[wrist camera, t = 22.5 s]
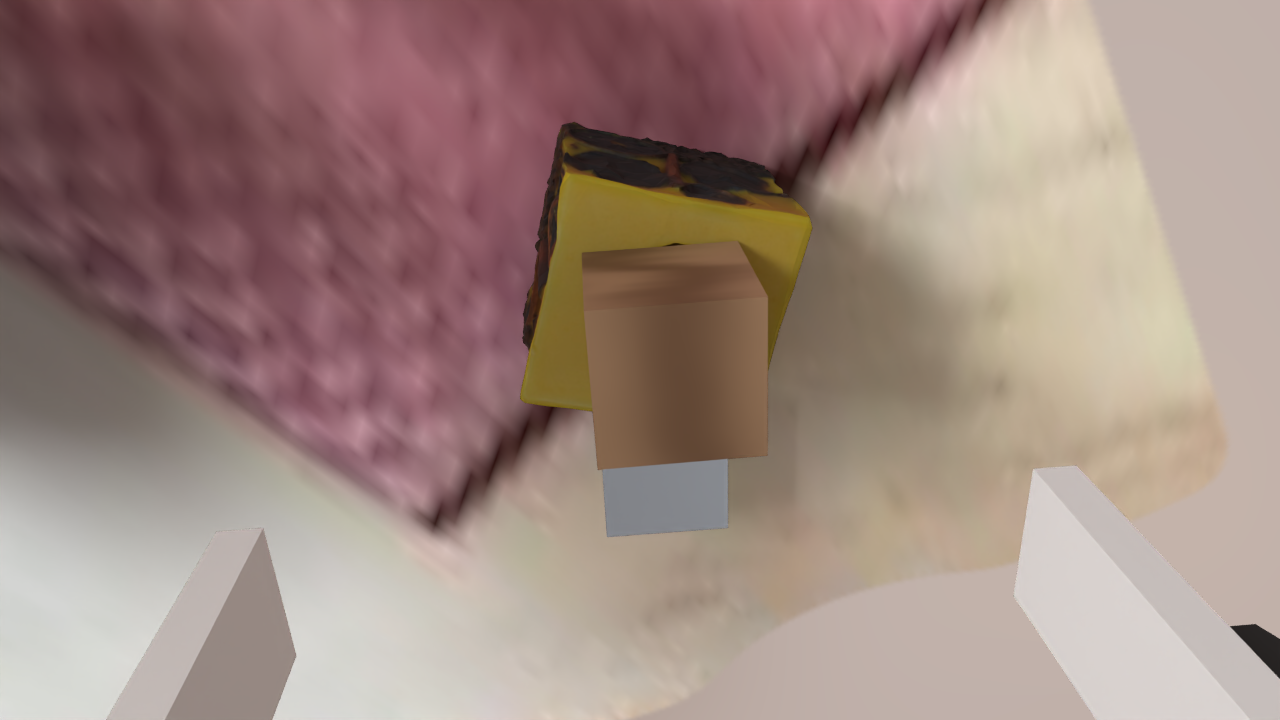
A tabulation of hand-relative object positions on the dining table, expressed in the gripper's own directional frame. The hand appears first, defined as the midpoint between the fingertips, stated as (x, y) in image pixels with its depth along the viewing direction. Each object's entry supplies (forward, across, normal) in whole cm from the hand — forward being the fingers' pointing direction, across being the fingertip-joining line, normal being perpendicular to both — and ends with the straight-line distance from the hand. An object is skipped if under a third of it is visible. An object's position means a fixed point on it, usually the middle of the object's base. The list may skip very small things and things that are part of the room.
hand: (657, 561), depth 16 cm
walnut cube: (+21, +2, -4) cm, 21 cm away
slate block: (+31, +2, -14) cm, 34 cm away
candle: (+31, +2, -4) cm, 31 cm away
